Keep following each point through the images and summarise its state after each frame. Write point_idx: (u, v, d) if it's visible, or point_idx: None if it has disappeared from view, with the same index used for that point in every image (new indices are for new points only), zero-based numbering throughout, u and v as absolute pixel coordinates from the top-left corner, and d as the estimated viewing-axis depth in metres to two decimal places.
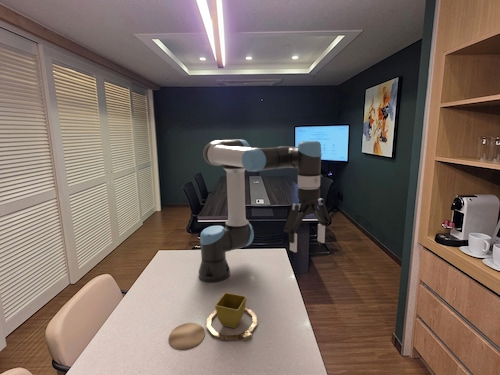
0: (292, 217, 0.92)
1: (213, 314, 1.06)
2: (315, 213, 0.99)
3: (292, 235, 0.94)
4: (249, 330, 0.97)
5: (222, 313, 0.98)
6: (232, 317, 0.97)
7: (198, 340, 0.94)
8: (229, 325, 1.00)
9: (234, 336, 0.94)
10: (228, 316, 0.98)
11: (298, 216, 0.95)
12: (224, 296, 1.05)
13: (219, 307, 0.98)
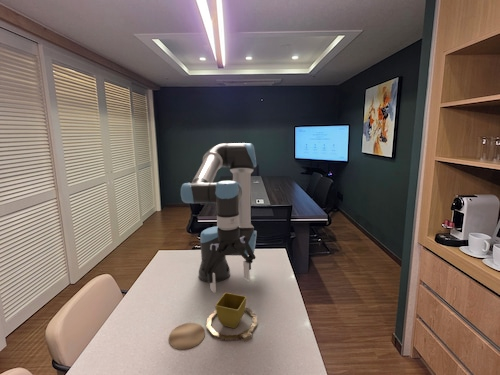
0: (209, 258, 0.92)
1: (213, 314, 1.06)
2: (237, 251, 0.99)
3: (210, 275, 0.93)
4: (249, 330, 0.97)
5: (222, 313, 0.98)
6: (232, 317, 0.97)
7: (198, 340, 0.94)
8: (229, 325, 1.00)
9: (234, 336, 0.94)
10: (228, 316, 0.98)
11: (217, 256, 0.95)
12: (224, 296, 1.05)
13: (219, 307, 0.98)
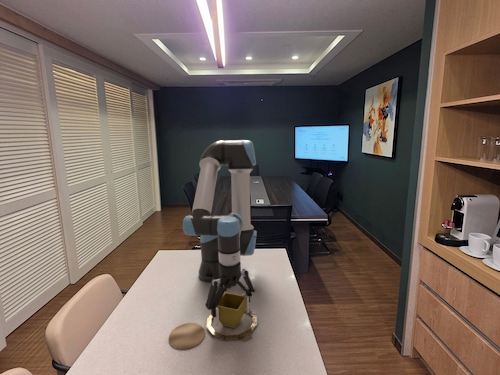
0: (211, 294, 0.95)
1: None
2: (238, 285, 1.01)
3: (213, 310, 0.97)
4: (249, 330, 0.97)
5: (222, 313, 0.98)
6: (232, 317, 0.97)
7: (198, 340, 0.94)
8: (229, 325, 0.99)
9: (234, 336, 0.94)
10: (228, 316, 0.98)
11: (219, 290, 0.98)
12: (224, 296, 1.05)
13: (219, 307, 0.98)
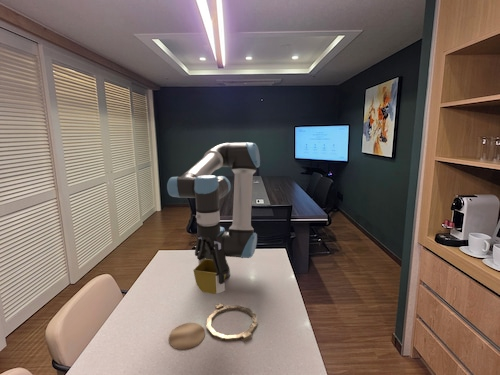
0: None
1: (213, 314, 1.06)
2: None
3: (199, 260, 1.01)
4: (249, 330, 0.97)
5: None
6: None
7: (198, 340, 0.94)
8: None
9: (234, 336, 0.94)
10: None
11: None
12: None
13: None
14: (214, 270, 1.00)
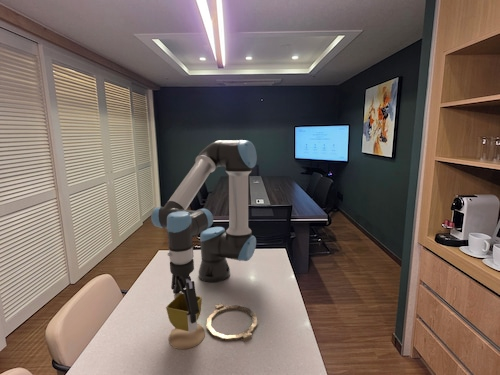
0: None
1: (213, 314, 1.06)
2: None
3: None
4: (249, 330, 0.97)
5: None
6: None
7: (198, 340, 0.94)
8: None
9: (234, 336, 0.94)
10: None
11: None
12: (198, 299, 0.97)
13: None
14: None
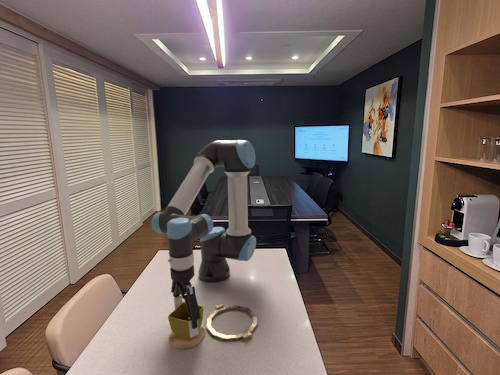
0: None
1: (213, 314, 1.06)
2: None
3: (175, 297, 1.00)
4: (249, 330, 0.97)
5: None
6: None
7: (198, 340, 0.94)
8: None
9: (234, 336, 0.94)
10: None
11: None
12: (199, 308, 0.97)
13: None
14: None
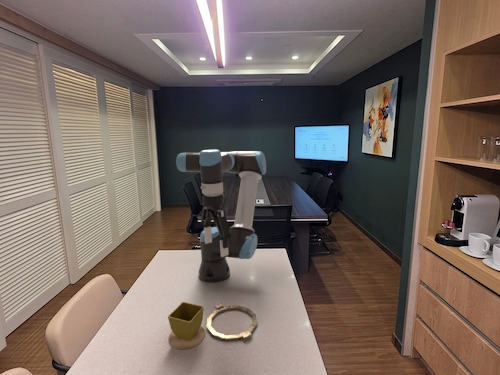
0: None
1: (213, 314, 1.06)
2: None
3: (204, 227, 1.10)
4: (249, 330, 0.97)
5: None
6: None
7: (198, 340, 0.94)
8: None
9: (234, 336, 0.94)
10: None
11: None
12: (199, 308, 0.97)
13: None
14: (191, 314, 0.99)
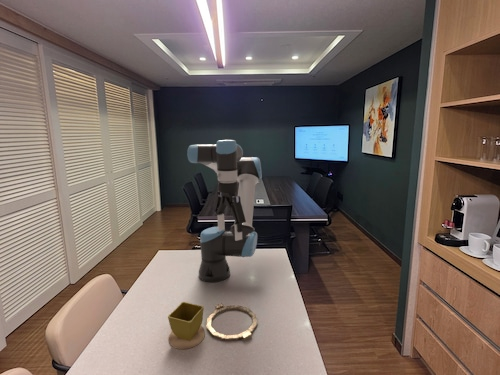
0: None
1: (213, 314, 1.06)
2: None
3: (218, 215, 1.16)
4: (249, 330, 0.97)
5: None
6: None
7: (198, 340, 0.94)
8: None
9: (234, 336, 0.94)
10: None
11: None
12: (199, 308, 0.97)
13: None
14: (191, 314, 0.99)
